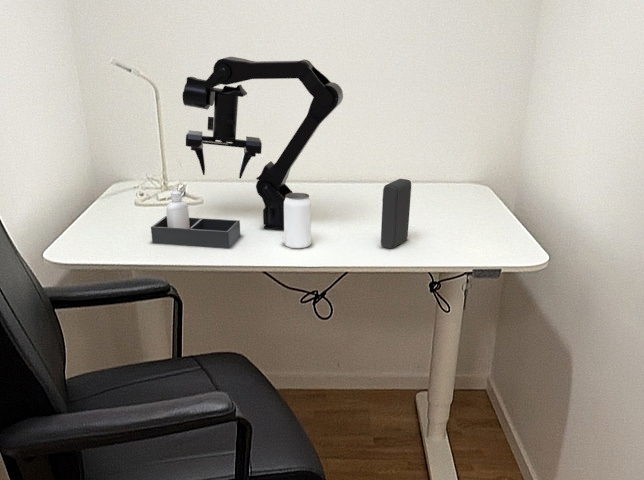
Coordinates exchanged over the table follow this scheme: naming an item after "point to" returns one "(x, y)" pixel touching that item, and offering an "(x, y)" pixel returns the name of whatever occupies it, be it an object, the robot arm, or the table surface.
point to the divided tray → (198, 233)
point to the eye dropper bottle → (177, 211)
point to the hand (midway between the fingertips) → (222, 176)
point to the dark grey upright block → (395, 212)
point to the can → (297, 220)
